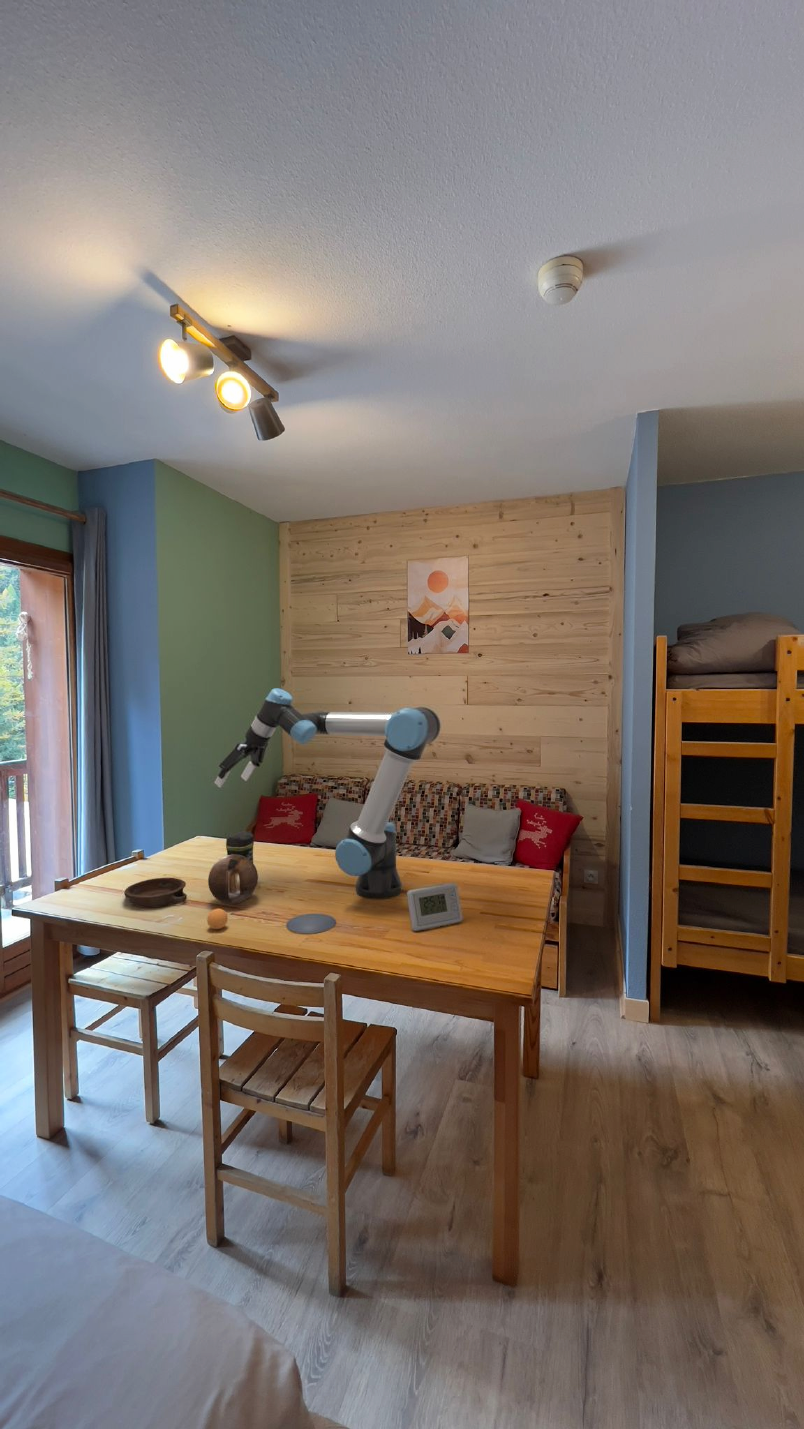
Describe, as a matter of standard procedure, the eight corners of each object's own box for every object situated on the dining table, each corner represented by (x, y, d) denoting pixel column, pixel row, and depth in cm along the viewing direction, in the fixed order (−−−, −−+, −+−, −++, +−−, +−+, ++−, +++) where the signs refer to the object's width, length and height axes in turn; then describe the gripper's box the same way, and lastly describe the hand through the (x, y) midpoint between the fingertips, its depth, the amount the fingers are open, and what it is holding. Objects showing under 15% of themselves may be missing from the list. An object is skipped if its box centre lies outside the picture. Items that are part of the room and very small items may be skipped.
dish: (144, 889, 200) (143, 875, 200) (202, 894, 195) (202, 879, 195) (107, 908, 183) (106, 892, 183) (170, 914, 178) (169, 898, 178)
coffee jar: (244, 893, 195) (243, 837, 194) (223, 891, 197) (221, 836, 196) (258, 883, 205) (257, 830, 204) (237, 881, 207) (236, 829, 206)
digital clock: (410, 933, 163) (410, 895, 162) (403, 920, 171) (402, 884, 171) (467, 927, 166) (466, 890, 166) (456, 915, 175) (456, 880, 174)
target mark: (335, 913, 177) (335, 912, 177) (335, 932, 164) (335, 931, 164) (288, 915, 176) (288, 914, 176) (284, 935, 162) (284, 934, 162)
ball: (229, 924, 170) (229, 905, 170) (225, 932, 165) (225, 912, 164) (209, 925, 169) (209, 906, 169) (205, 933, 164) (204, 913, 164)
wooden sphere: (219, 893, 195) (218, 848, 194) (264, 894, 194) (263, 848, 193) (201, 911, 180) (199, 862, 179) (249, 911, 179) (248, 862, 178)
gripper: (274, 722, 207) (246, 769, 212) (228, 727, 184) (197, 780, 189) (289, 735, 204) (261, 782, 210) (244, 741, 181) (213, 795, 187)
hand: (231, 781), depth 200 cm, fingers open, 13 cm apart
